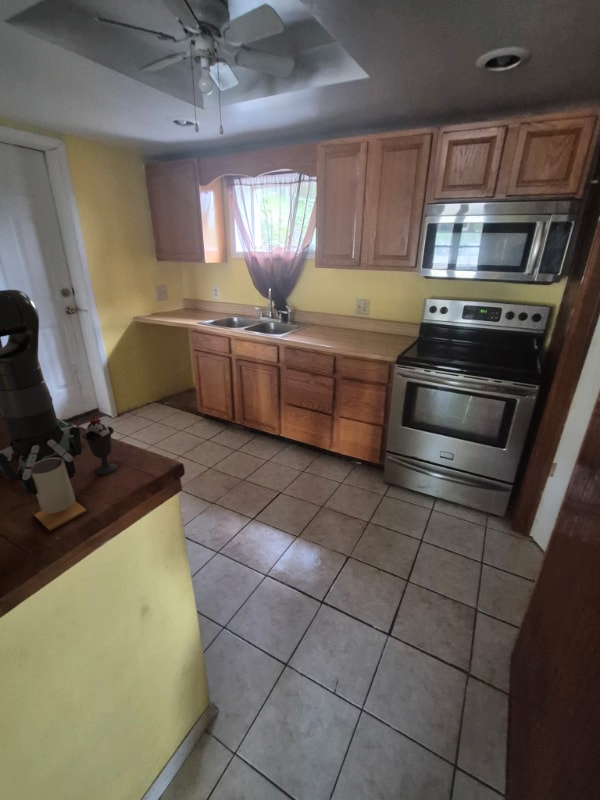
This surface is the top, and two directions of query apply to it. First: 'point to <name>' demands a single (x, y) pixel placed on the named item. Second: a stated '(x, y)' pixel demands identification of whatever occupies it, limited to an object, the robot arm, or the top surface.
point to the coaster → (60, 516)
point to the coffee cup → (52, 485)
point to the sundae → (100, 443)
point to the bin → (64, 441)
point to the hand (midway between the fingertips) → (52, 484)
